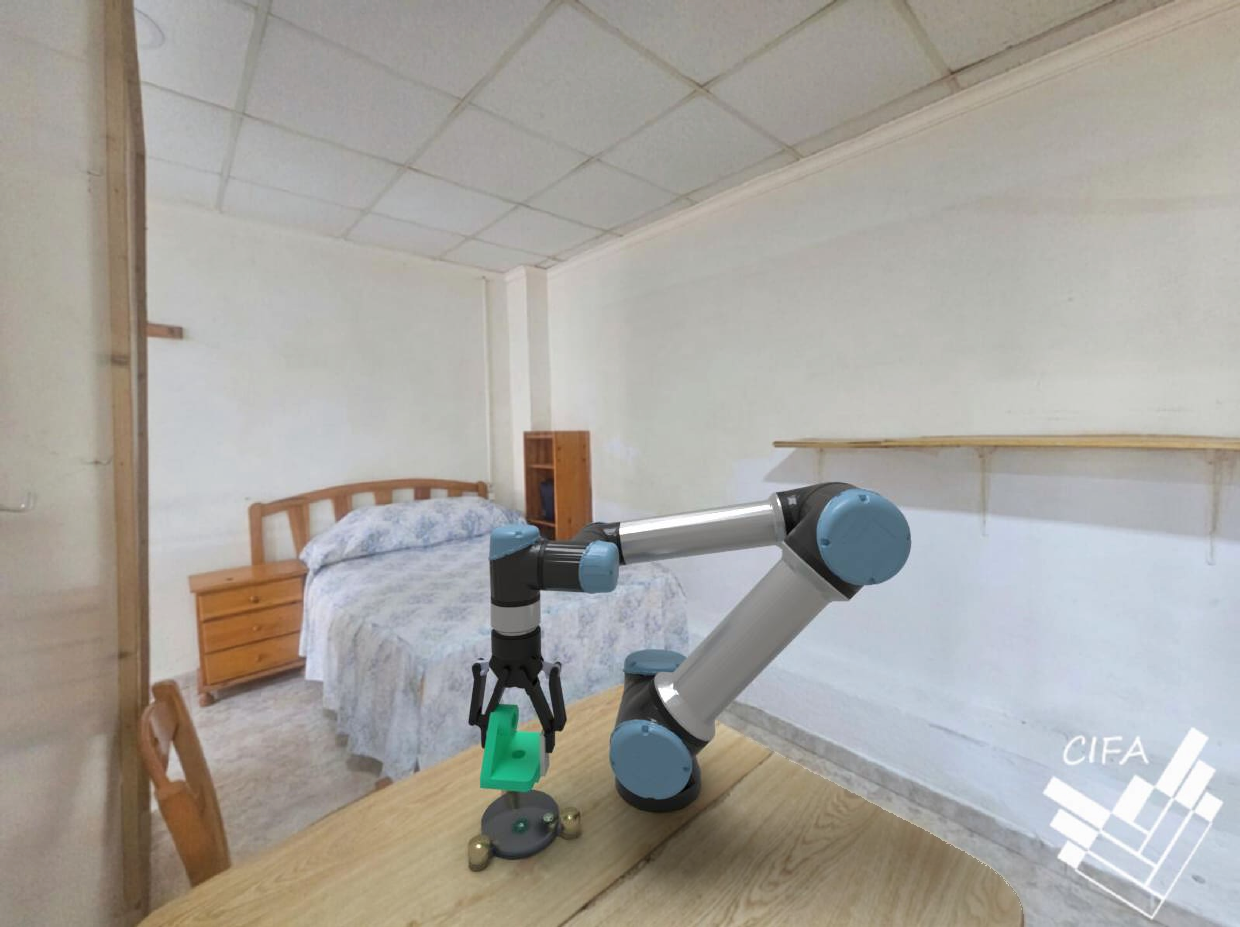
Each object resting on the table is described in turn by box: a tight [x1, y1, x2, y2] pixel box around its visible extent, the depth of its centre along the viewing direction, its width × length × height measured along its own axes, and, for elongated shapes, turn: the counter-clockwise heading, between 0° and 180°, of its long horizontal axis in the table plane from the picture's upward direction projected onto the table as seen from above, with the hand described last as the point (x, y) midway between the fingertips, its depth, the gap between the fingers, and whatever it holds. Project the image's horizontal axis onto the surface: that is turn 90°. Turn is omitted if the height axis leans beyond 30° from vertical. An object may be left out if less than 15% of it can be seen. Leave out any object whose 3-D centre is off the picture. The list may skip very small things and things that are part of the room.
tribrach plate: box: [467, 789, 581, 872], centre depth 81 cm, size 16×17×3 cm
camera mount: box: [479, 703, 542, 792], centre depth 81 cm, size 12×8×10 cm, turn 172°
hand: (518, 768), depth 81 cm, fingers closed on camera mount, 8 cm apart
